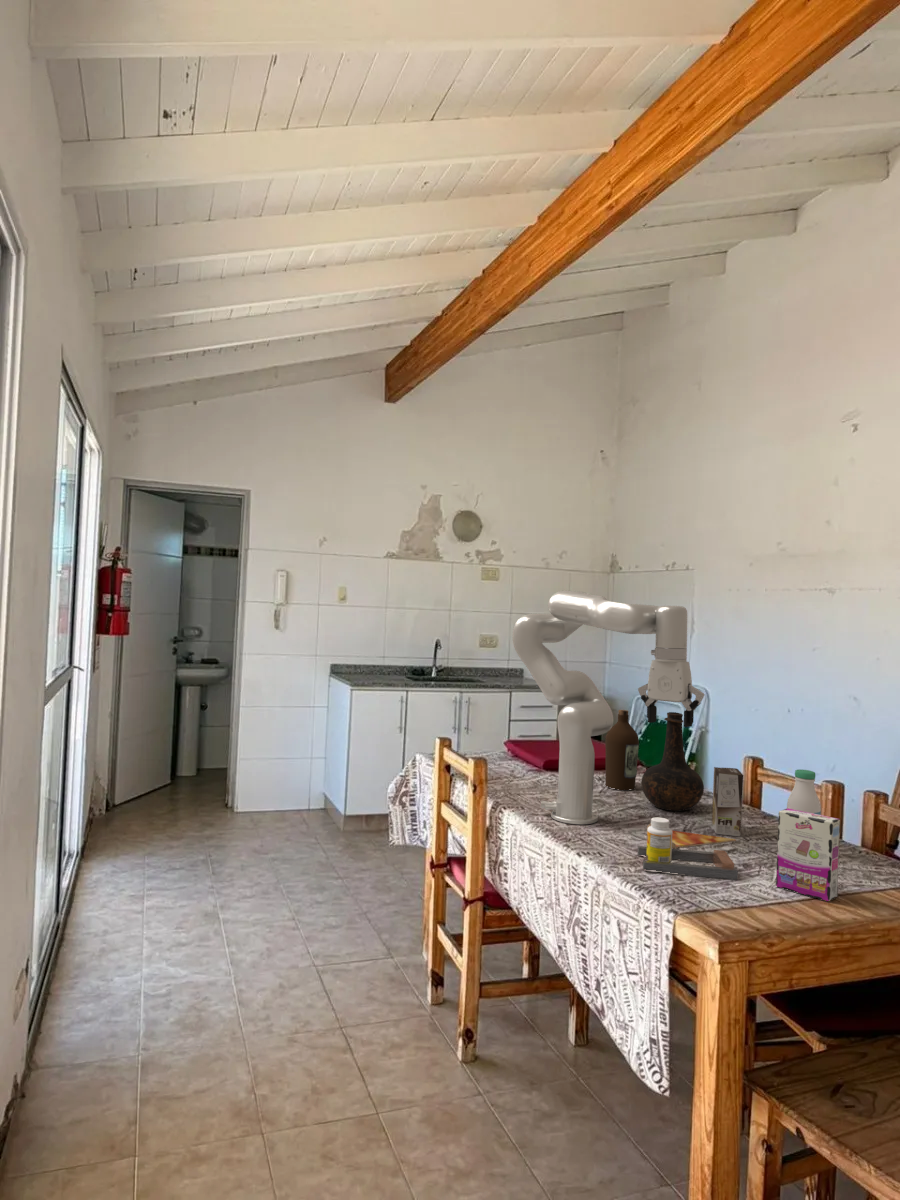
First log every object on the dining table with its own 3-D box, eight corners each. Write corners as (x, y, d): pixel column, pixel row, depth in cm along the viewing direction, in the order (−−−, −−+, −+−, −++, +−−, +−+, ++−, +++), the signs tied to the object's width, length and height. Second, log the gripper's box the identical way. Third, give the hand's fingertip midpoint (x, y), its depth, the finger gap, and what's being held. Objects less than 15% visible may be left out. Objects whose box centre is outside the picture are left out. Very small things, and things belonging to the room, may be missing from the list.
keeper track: (643, 871, 172) (644, 858, 172) (637, 854, 184) (638, 841, 184) (737, 879, 169) (738, 866, 169) (725, 861, 181) (725, 848, 181)
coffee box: (741, 837, 202) (744, 775, 202) (715, 834, 203) (718, 772, 203) (735, 827, 211) (738, 767, 211) (711, 824, 212) (713, 765, 212)
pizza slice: (736, 860, 184) (736, 852, 184) (640, 846, 191) (640, 838, 191) (736, 842, 198) (736, 834, 198) (647, 830, 206) (647, 822, 206)
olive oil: (596, 786, 252) (600, 709, 252) (615, 782, 260) (618, 707, 260) (624, 793, 245) (628, 713, 245) (643, 788, 252) (646, 711, 252)
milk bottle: (804, 858, 186) (808, 775, 186) (777, 849, 193) (781, 768, 193) (826, 855, 190) (829, 773, 190) (798, 845, 197) (802, 766, 197)
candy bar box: (838, 897, 161) (841, 818, 161) (829, 903, 158) (833, 822, 158) (784, 881, 169) (787, 806, 169) (774, 887, 166) (777, 810, 166)
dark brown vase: (693, 801, 238) (697, 709, 238) (711, 817, 220) (715, 718, 220) (634, 798, 239) (638, 707, 239) (647, 813, 221) (652, 715, 221)
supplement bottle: (652, 858, 181) (654, 814, 181) (675, 864, 178) (677, 819, 178) (641, 864, 177) (643, 819, 177) (664, 870, 173) (666, 824, 173)
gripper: (632, 653, 196) (630, 721, 196) (696, 657, 184) (695, 729, 184) (647, 653, 202) (645, 719, 201) (710, 656, 190) (709, 727, 190)
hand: (669, 724), depth 193 cm, fingers open, 9 cm apart
